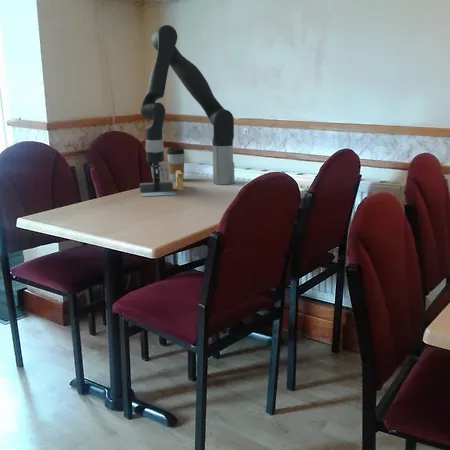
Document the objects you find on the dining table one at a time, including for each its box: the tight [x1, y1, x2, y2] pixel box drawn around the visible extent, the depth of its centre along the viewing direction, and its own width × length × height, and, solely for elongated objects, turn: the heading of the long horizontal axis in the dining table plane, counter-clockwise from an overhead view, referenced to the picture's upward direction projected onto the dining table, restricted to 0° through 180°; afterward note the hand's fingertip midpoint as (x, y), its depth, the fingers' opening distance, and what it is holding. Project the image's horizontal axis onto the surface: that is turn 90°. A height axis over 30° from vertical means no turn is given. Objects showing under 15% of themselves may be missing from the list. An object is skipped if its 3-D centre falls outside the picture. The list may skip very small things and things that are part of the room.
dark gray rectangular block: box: [139, 181, 174, 193], centre depth 248 cm, size 14×4×3 cm, turn 100°
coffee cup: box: [166, 147, 185, 182], centre depth 270 cm, size 8×8×15 cm
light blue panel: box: [140, 191, 177, 198], centre depth 239 cm, size 14×6×1 cm, turn 100°
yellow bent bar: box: [175, 170, 184, 191], centre depth 250 cm, size 2×10×7 cm, turn 10°
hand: (156, 189), depth 248 cm, fingers closed on dark gray rectangular block, 3 cm apart
